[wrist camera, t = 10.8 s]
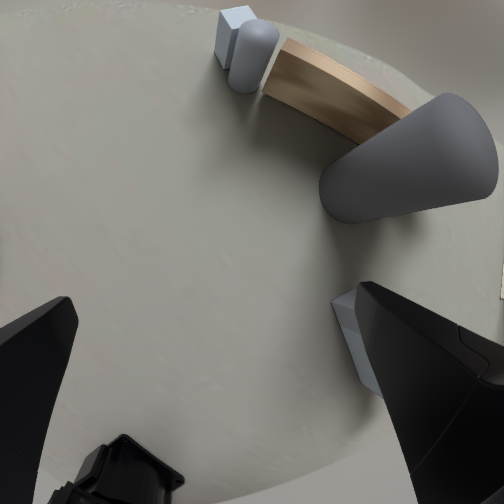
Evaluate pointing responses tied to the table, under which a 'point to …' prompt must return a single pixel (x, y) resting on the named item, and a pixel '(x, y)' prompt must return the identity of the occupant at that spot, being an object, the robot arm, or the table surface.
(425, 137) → the gray cylinder
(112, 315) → the table surface
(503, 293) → the condiment
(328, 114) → the door
